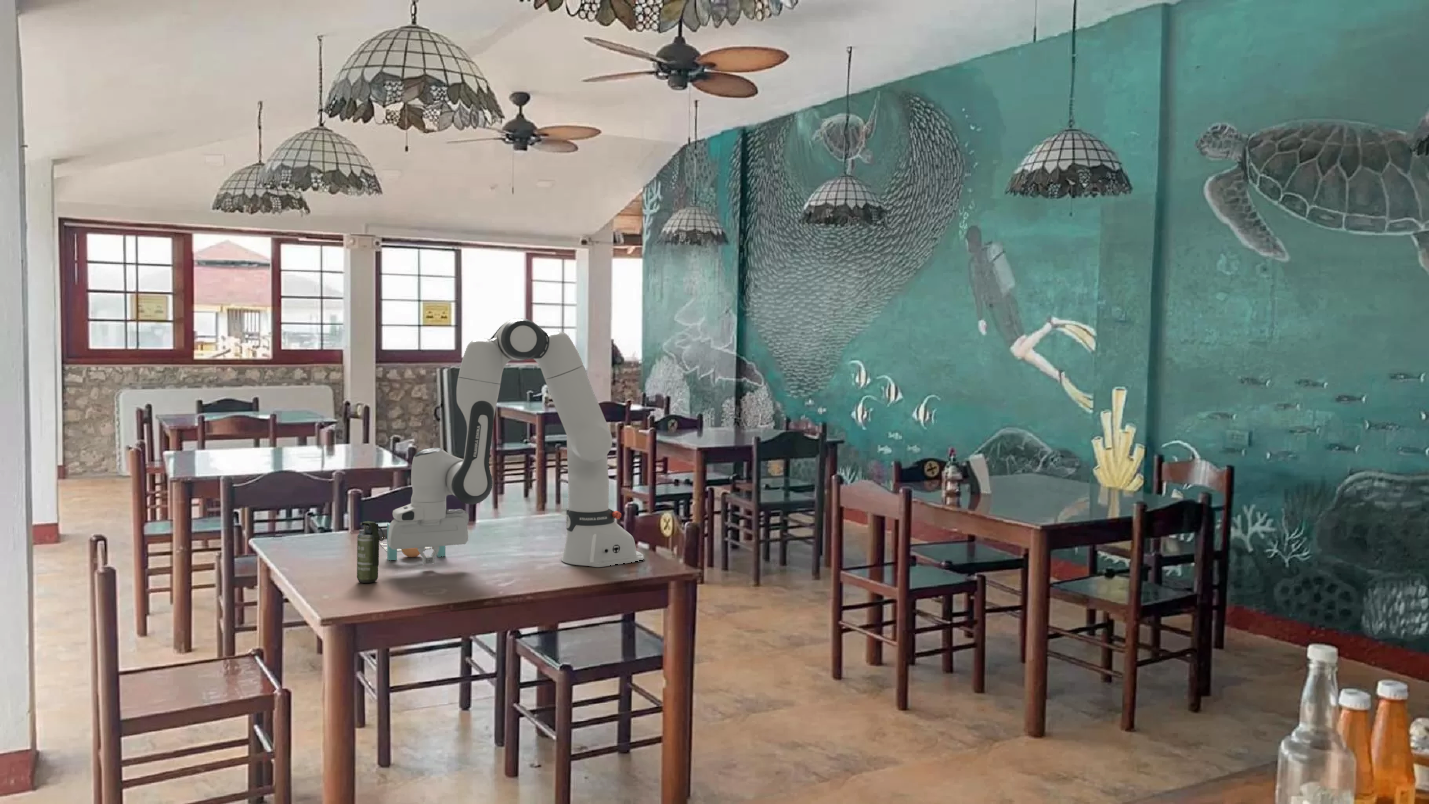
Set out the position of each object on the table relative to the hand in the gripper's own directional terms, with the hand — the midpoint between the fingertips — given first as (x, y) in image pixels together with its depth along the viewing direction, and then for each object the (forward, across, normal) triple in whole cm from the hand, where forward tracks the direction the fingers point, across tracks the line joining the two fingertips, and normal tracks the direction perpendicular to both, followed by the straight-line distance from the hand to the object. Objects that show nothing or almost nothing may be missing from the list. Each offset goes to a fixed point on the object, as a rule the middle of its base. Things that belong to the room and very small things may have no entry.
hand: (428, 563), depth 284 cm
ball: (-1, +1, -16) cm, 16 cm away
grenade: (+2, +16, +8) cm, 18 cm away
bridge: (+2, 0, -15) cm, 15 cm away
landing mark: (+2, 0, -31) cm, 31 cm away
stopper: (+2, 0, -46) cm, 46 cm away
